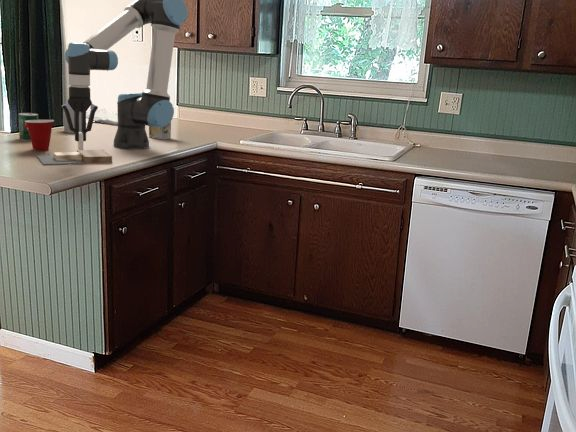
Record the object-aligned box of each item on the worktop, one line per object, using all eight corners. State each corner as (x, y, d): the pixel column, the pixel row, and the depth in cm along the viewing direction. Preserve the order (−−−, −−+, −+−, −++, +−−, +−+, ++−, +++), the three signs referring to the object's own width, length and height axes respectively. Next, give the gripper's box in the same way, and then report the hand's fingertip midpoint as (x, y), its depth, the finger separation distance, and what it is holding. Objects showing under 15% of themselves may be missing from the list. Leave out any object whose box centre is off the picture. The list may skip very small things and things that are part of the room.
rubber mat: (75, 156, 235) (75, 154, 235) (83, 164, 222) (83, 162, 222) (36, 156, 228) (36, 155, 228) (43, 165, 215) (43, 163, 215)
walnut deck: (103, 155, 239) (103, 149, 239) (112, 162, 228) (112, 156, 227) (77, 156, 234) (77, 150, 234) (84, 163, 223) (84, 156, 222)
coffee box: (171, 138, 294) (172, 105, 289) (163, 139, 288) (163, 106, 284) (156, 136, 297) (157, 103, 293) (148, 137, 292) (148, 103, 288)
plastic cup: (42, 146, 250) (41, 117, 246) (60, 149, 245) (59, 120, 242) (19, 148, 240) (18, 118, 237) (38, 152, 236) (37, 122, 232)
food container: (96, 114, 339) (93, 105, 336) (137, 123, 327) (135, 114, 323) (82, 124, 332) (79, 115, 328) (124, 134, 320) (121, 124, 316)
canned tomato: (32, 141, 258) (31, 115, 255) (15, 139, 260) (14, 113, 257) (42, 139, 266) (42, 114, 263) (26, 137, 267) (25, 112, 264)
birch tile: (78, 157, 231) (78, 152, 230) (81, 160, 226) (81, 154, 225) (53, 157, 226) (53, 152, 226) (56, 160, 221) (56, 155, 221)
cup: (80, 133, 288) (79, 108, 285) (61, 132, 288) (60, 106, 285) (86, 130, 297) (86, 106, 294) (68, 129, 297) (67, 105, 294)
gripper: (95, 86, 228) (96, 147, 234) (59, 84, 221) (60, 148, 227) (99, 87, 221) (100, 151, 228) (62, 86, 215) (64, 151, 221)
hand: (80, 149), depth 228 cm, fingers closed
